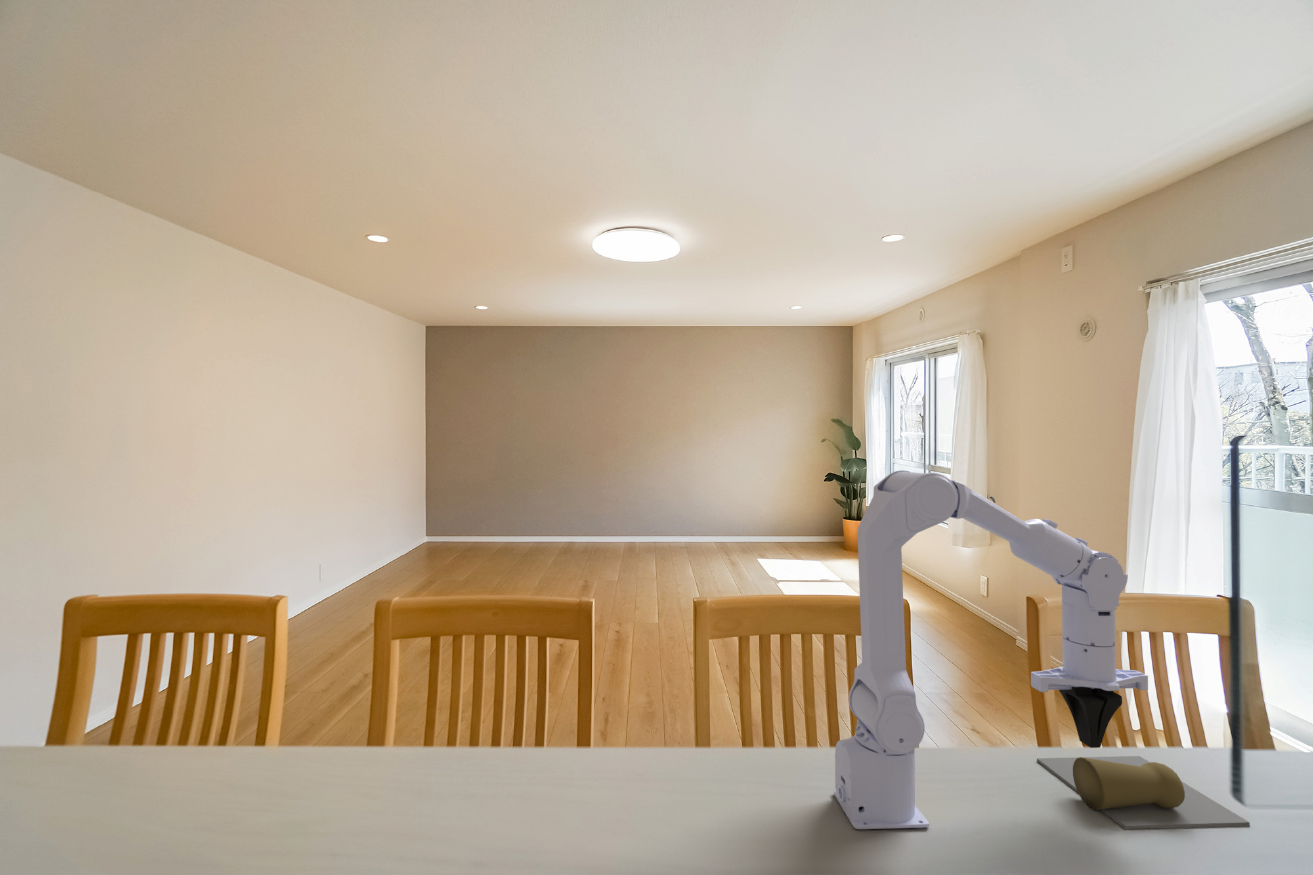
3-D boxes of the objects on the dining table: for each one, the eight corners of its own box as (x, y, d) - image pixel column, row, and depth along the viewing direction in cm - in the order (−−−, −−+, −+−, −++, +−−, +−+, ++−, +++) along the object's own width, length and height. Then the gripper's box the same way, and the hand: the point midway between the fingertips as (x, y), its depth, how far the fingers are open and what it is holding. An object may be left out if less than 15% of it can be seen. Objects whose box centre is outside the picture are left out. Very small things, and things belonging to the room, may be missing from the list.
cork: (1106, 818, 75) (1197, 821, 74) (1100, 766, 76) (1190, 768, 75) (1075, 798, 80) (1159, 800, 80) (1070, 750, 82) (1153, 752, 81)
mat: (1125, 828, 73) (1125, 825, 73) (1036, 760, 89) (1036, 758, 89) (1249, 825, 74) (1249, 822, 74) (1139, 758, 90) (1139, 755, 90)
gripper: (1057, 651, 74) (1058, 760, 74) (1168, 649, 75) (1170, 758, 75) (1020, 633, 81) (1021, 733, 81) (1122, 632, 82) (1123, 731, 82)
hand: (1089, 743), depth 78 cm, fingers closed
